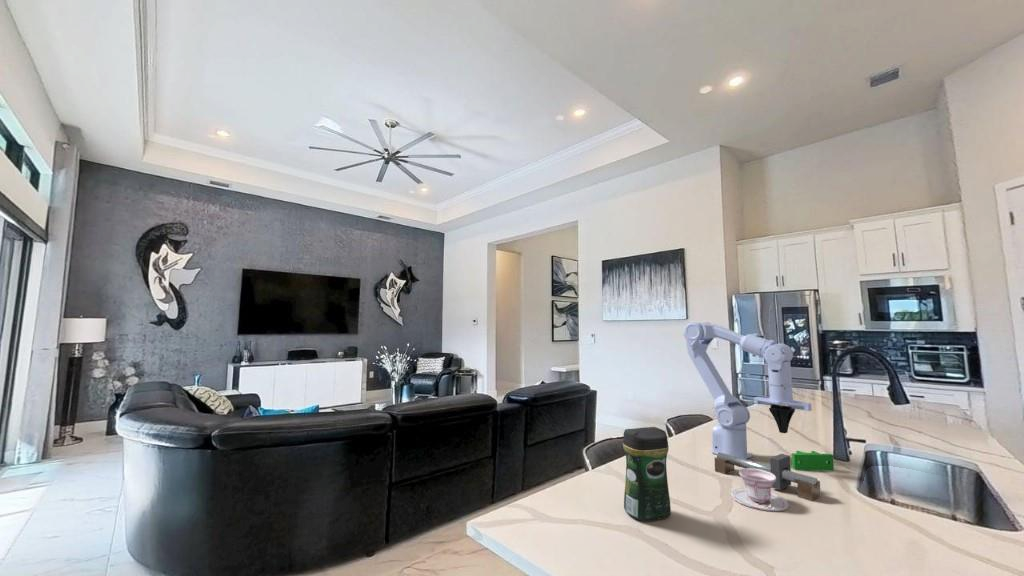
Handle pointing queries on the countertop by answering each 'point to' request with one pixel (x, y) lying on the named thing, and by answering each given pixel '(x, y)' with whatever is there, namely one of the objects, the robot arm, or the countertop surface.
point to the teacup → (758, 490)
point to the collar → (780, 470)
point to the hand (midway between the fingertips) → (783, 432)
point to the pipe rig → (806, 484)
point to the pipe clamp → (812, 461)
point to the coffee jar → (646, 473)
